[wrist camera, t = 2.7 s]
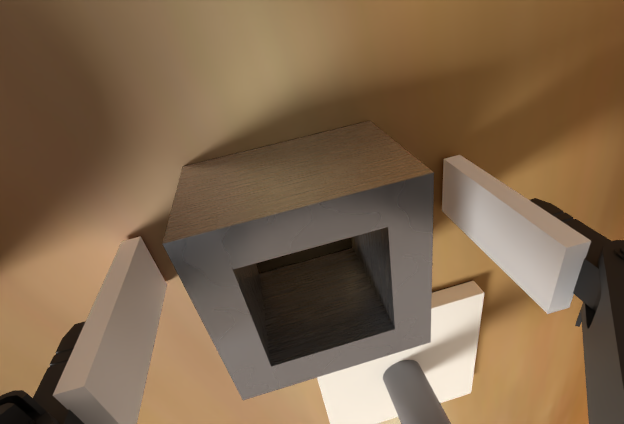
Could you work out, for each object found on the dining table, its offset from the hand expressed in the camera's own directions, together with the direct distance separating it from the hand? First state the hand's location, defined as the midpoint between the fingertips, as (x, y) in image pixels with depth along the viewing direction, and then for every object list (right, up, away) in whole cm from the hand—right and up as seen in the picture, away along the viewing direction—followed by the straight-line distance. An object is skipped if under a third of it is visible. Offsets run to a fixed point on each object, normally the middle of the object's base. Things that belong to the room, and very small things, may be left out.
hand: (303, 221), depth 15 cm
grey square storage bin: (0, 0, 0) cm, 0 cm away
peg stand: (+6, -9, +7) cm, 13 cm away
